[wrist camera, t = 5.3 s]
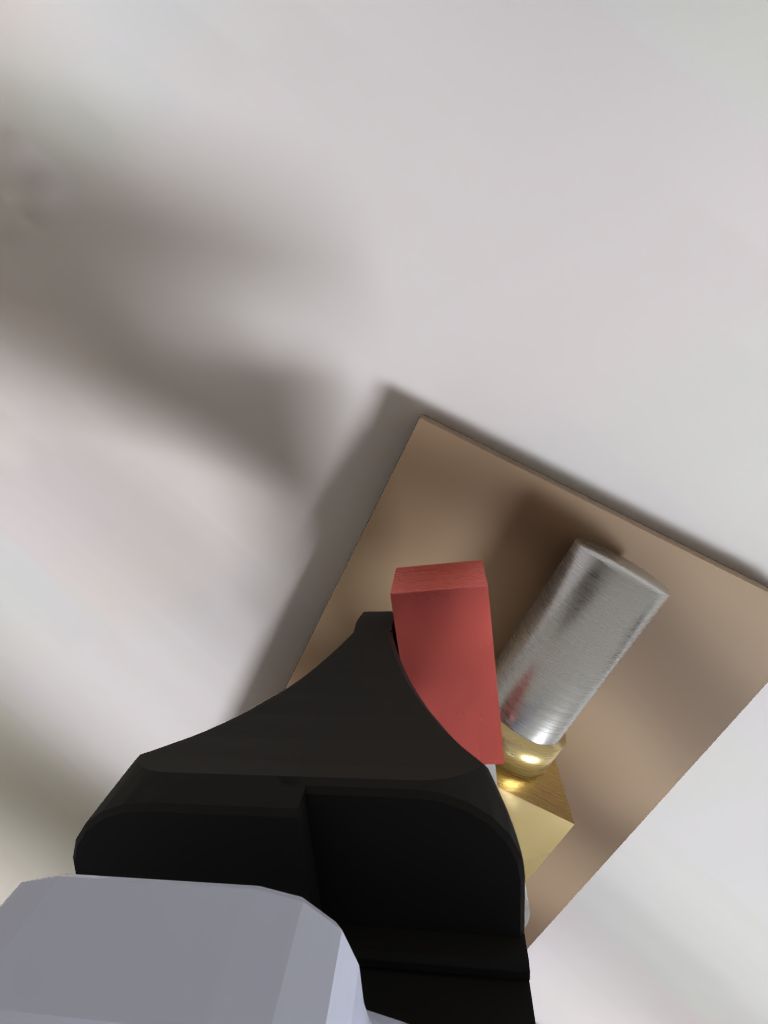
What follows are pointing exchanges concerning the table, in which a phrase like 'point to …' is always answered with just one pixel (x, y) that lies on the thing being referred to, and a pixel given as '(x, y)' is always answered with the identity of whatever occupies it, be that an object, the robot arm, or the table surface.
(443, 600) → the lever
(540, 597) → the valve housing
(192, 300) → the table surface
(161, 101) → the table surface
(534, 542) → the mounting board
